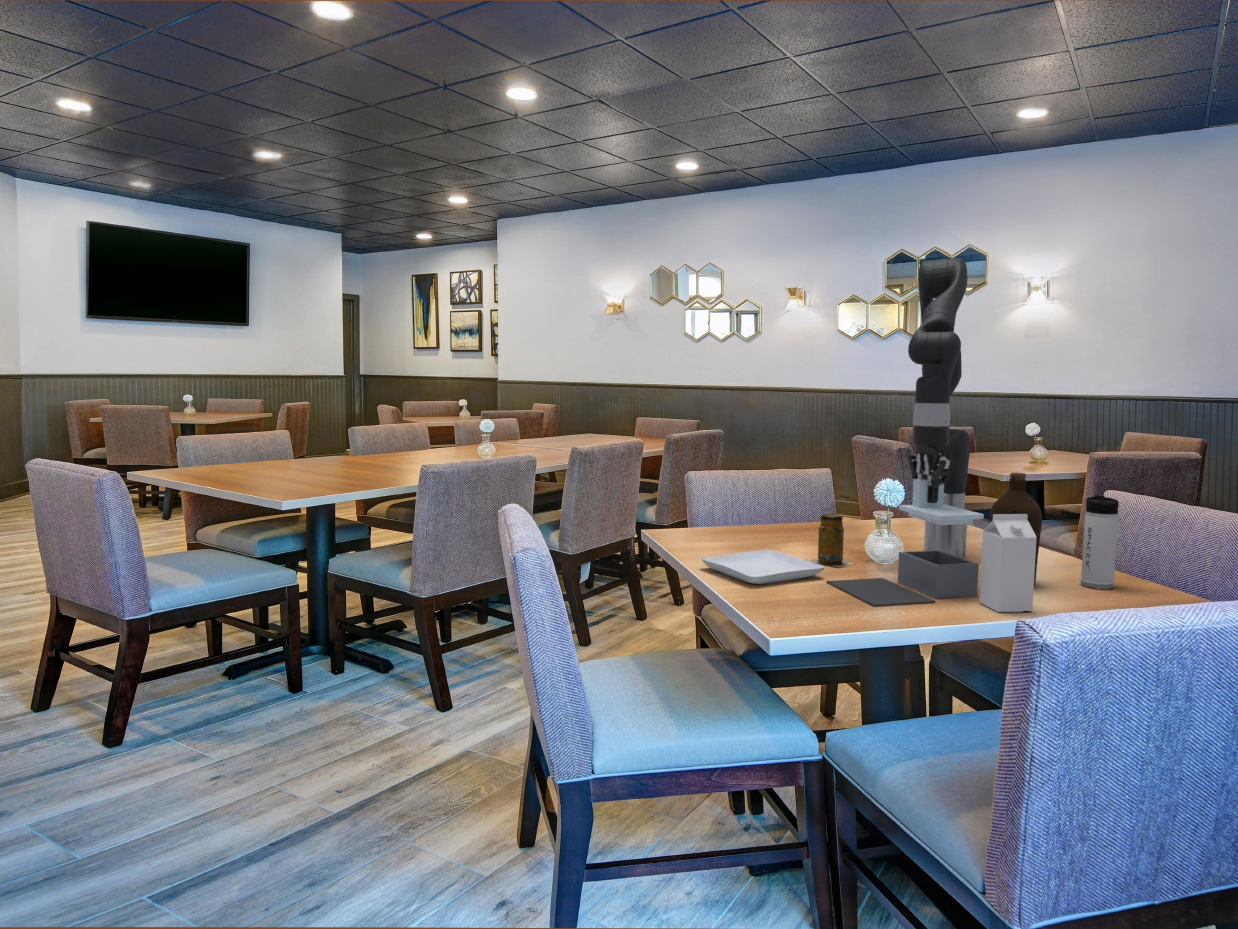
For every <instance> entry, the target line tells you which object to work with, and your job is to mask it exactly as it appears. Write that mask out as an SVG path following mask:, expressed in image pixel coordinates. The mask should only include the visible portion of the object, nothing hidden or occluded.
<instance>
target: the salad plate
mask: <svg viewBox="0 0 1238 929" xmlns="http://www.w3.org/2000/svg"><path fill="white" fill-rule="evenodd" d="M700 559H701V561H702V562H703V564H704V565H706V566H707V567H708V568H710V569H712V570H714V571H716V572H719V573H721V574H724V575H725V576H728V577H732V578H735V579H737V580H740V581H743V582H745V583H748V584H752V585H765V584H774V583H779V582H780V583H781V582H789V581H794V580H800V579H806V578H810V577H813V576H816V575H819V573H821V572H823V571H824V569H825V568H826V567H825V565H822V564H818V563H814V562H810V561H809V560H806V559H803V558H800V557H797V556H794V555H791V554H787V553H784V552H780V551H776V550H775V549H773V550H772V549H763V550H754V551H744V552H736V553H729V554H722V555H716V556H715V555H714V556H708V557H701V558H700Z"/></svg>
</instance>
